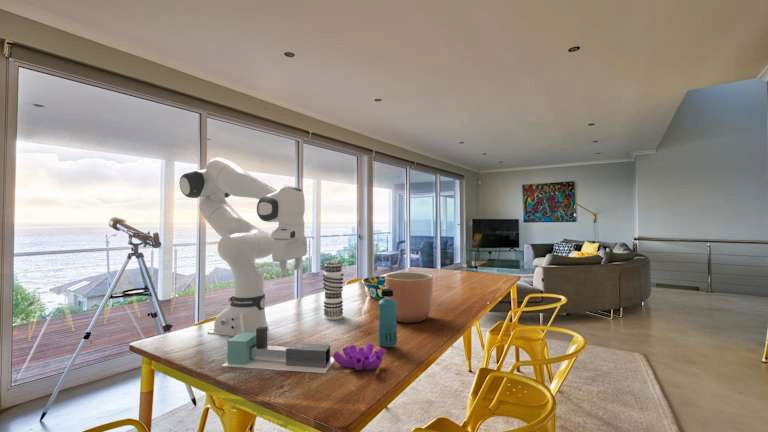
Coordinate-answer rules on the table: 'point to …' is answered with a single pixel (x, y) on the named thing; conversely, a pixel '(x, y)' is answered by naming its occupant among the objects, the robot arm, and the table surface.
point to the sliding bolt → (266, 348)
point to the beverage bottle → (387, 319)
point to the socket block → (240, 348)
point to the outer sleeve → (308, 355)
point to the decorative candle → (333, 290)
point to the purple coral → (359, 357)
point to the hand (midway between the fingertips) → (290, 271)
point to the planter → (411, 295)
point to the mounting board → (280, 365)
